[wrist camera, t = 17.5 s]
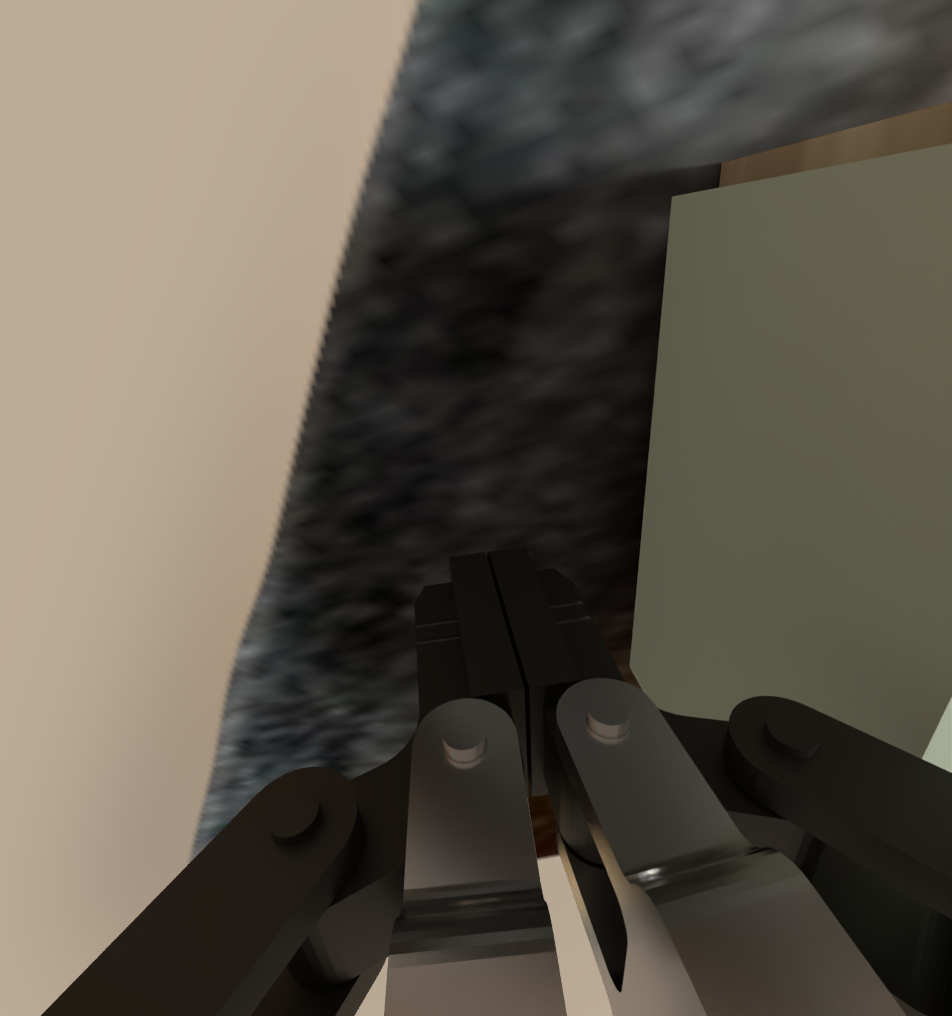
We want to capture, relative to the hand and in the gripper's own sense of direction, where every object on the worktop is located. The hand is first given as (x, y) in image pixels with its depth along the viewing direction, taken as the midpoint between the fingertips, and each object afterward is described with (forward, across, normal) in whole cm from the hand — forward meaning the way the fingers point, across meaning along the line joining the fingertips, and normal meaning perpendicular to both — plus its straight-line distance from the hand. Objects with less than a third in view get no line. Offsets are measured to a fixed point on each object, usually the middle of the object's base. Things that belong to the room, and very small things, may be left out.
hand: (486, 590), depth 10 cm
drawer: (+4, -13, 0) cm, 14 cm away
